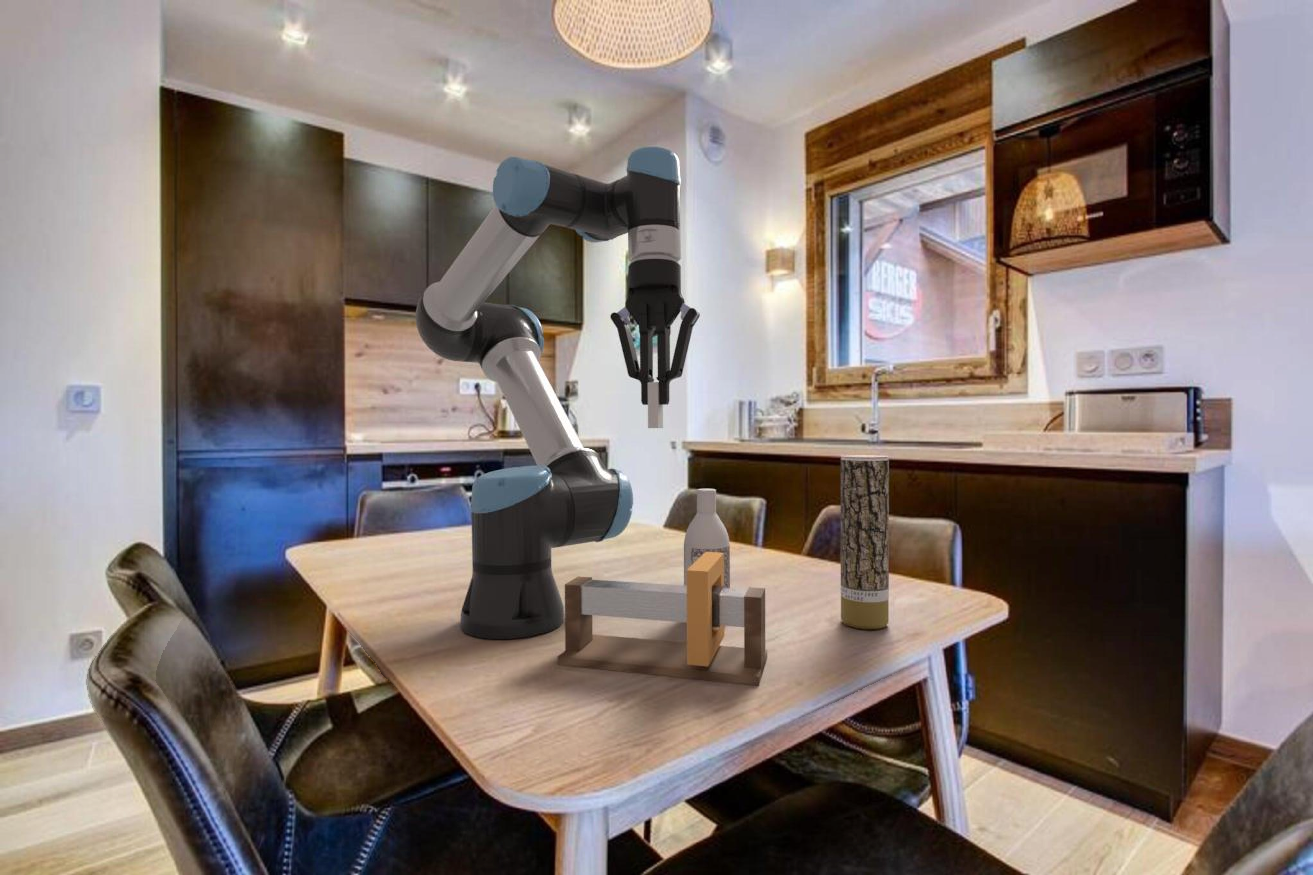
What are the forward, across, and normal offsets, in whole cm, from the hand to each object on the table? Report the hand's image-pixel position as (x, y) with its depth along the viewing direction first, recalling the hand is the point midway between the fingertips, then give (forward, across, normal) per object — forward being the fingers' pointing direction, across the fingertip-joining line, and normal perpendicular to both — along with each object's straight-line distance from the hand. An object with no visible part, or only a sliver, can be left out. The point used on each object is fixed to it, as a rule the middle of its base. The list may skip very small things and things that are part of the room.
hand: (655, 427), depth 92 cm
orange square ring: (+27, +10, -11) cm, 31 cm away
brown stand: (+29, +4, -11) cm, 32 cm away
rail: (+24, +4, -11) cm, 27 cm away
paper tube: (+30, +29, +11) cm, 43 cm away
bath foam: (+30, +6, +7) cm, 31 cm away
